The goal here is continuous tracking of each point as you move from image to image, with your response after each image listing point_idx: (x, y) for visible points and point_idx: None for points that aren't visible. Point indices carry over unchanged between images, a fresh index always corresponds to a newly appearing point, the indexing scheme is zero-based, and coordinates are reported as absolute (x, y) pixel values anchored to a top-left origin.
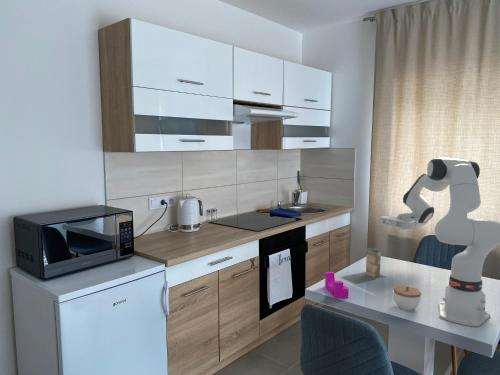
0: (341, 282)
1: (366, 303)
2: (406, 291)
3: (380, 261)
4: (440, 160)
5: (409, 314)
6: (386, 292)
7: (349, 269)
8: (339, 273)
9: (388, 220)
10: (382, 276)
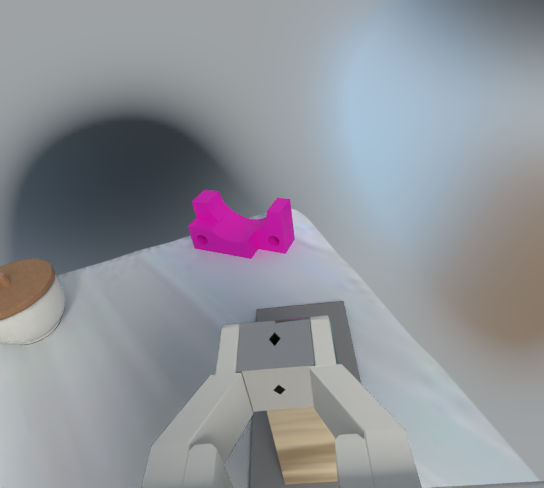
0: (195, 198)
1: (141, 264)
2: (6, 275)
3: (273, 438)
4: None
5: None
6: (138, 357)
7: (456, 409)
8: (401, 330)
9: (396, 444)
10: (265, 486)
